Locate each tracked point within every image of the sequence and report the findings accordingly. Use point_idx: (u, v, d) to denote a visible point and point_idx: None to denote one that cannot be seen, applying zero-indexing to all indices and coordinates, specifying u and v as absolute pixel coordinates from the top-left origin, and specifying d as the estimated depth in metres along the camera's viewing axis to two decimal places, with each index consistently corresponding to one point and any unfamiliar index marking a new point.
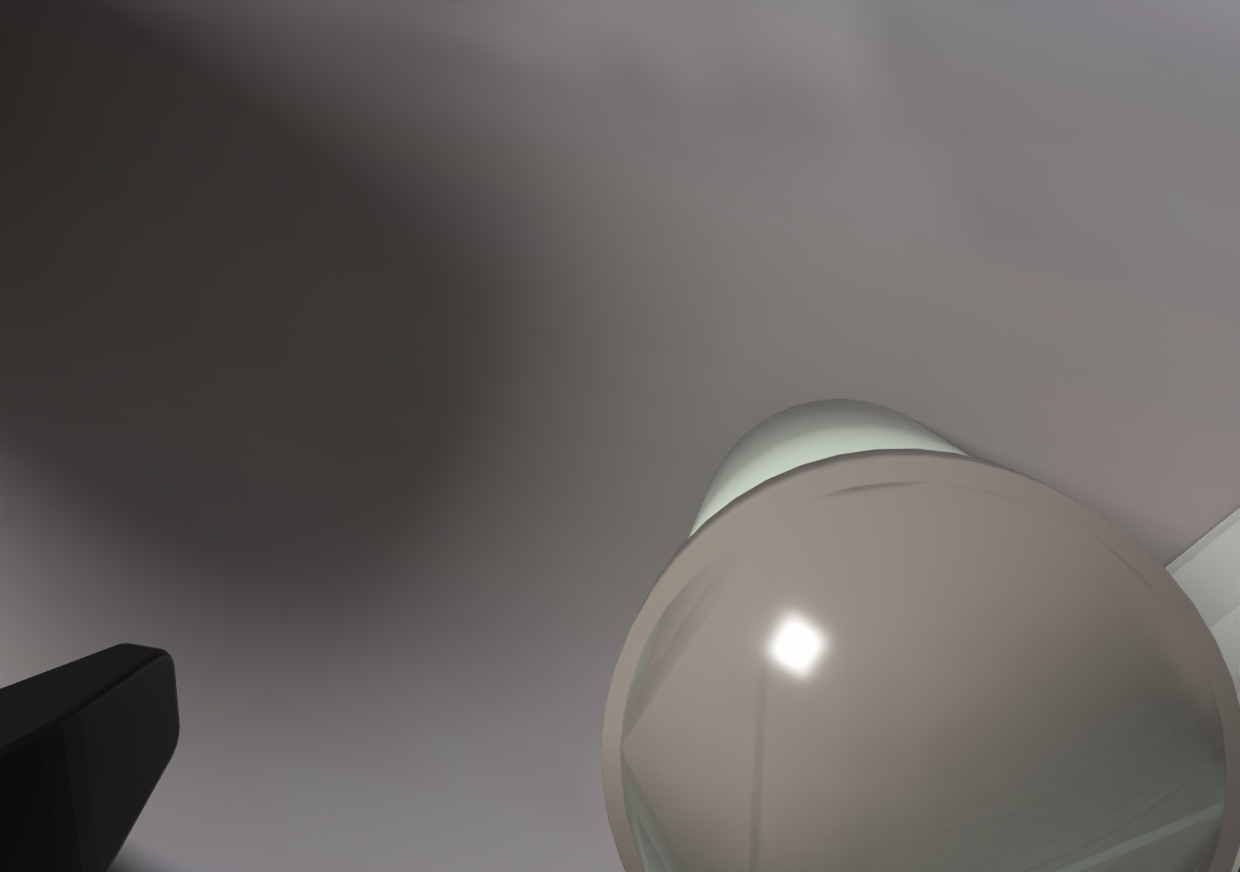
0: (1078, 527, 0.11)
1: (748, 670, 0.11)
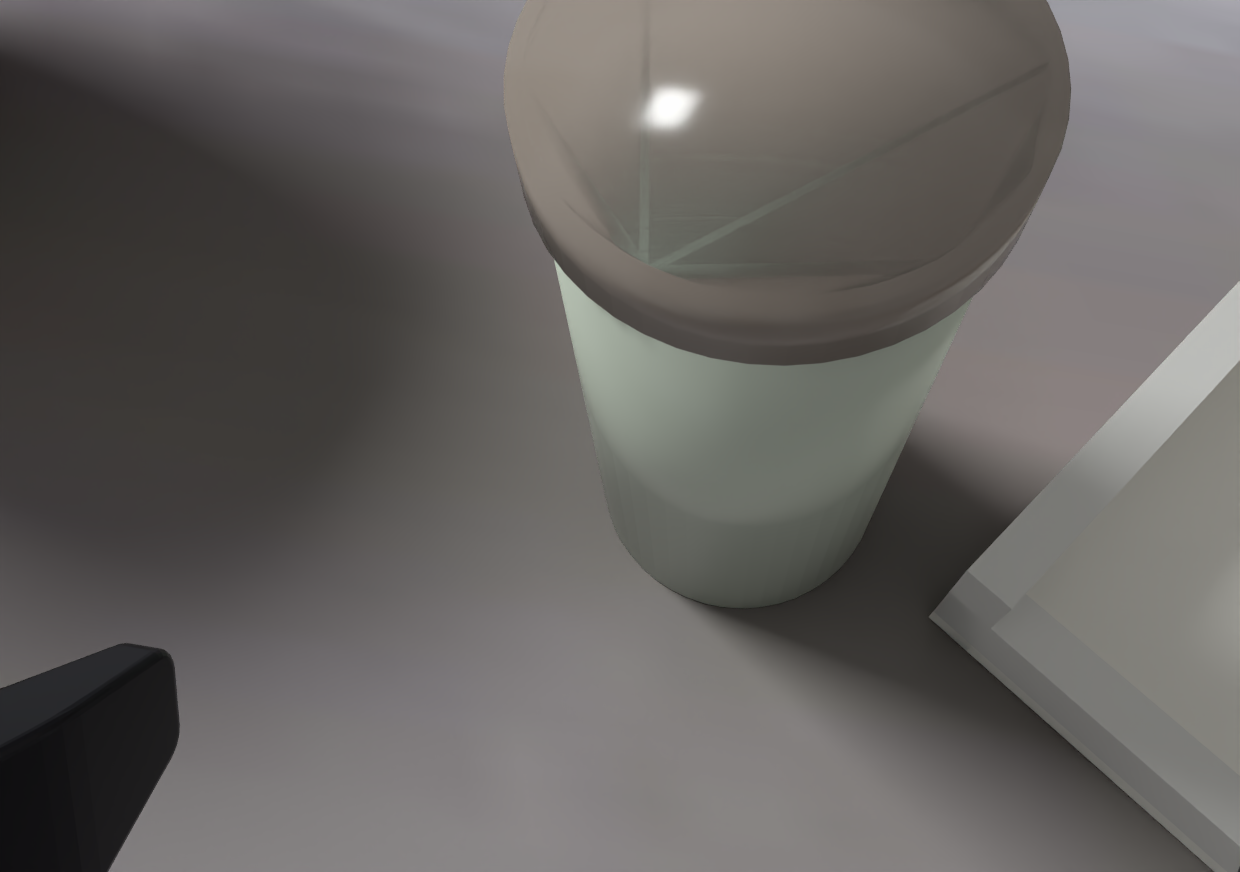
0: None
1: (634, 9, 0.13)
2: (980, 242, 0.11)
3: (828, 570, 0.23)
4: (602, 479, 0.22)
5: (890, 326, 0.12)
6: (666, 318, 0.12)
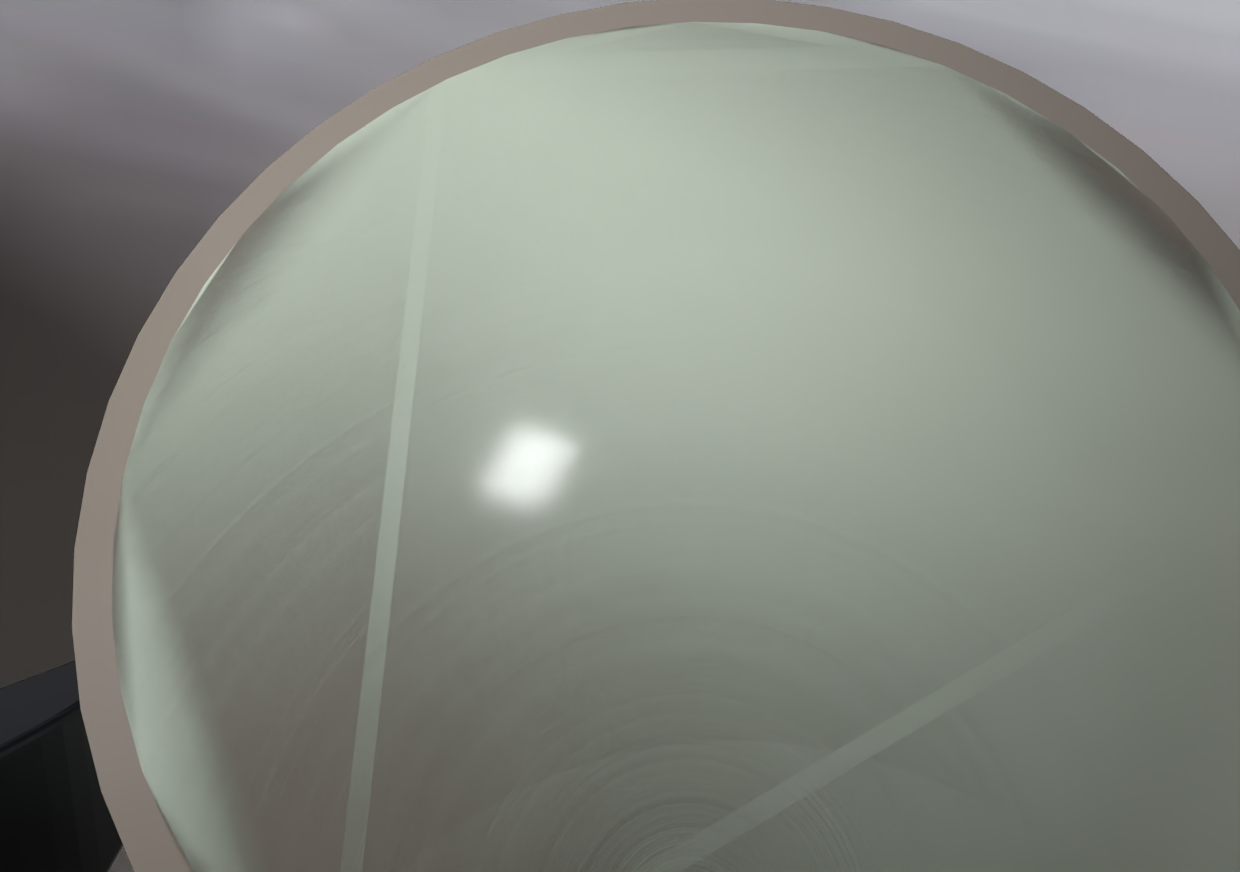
0: (931, 61, 0.07)
1: (386, 313, 0.06)
2: None
3: None
4: None
5: None
6: None
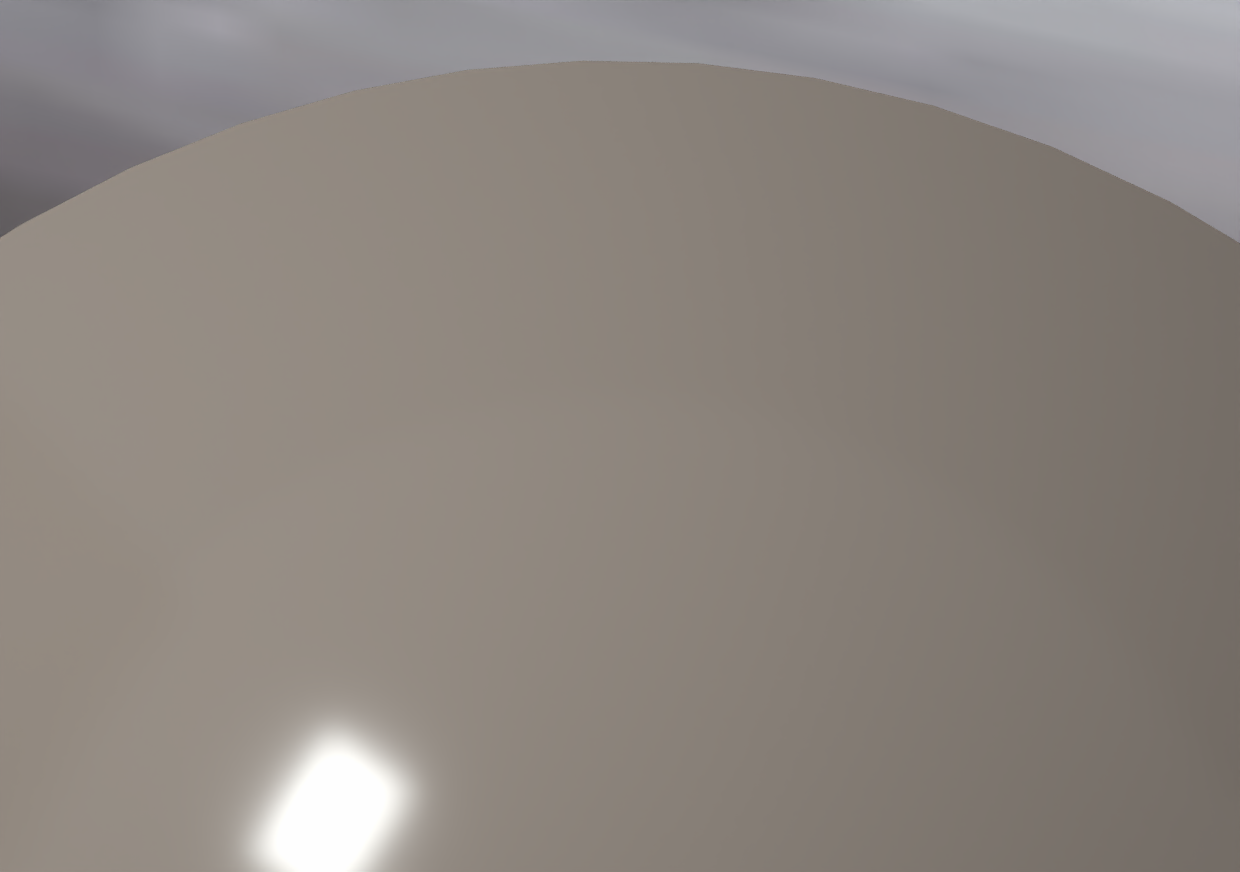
0: (1003, 181, 0.04)
1: None
2: None
3: None
4: None
5: None
6: None
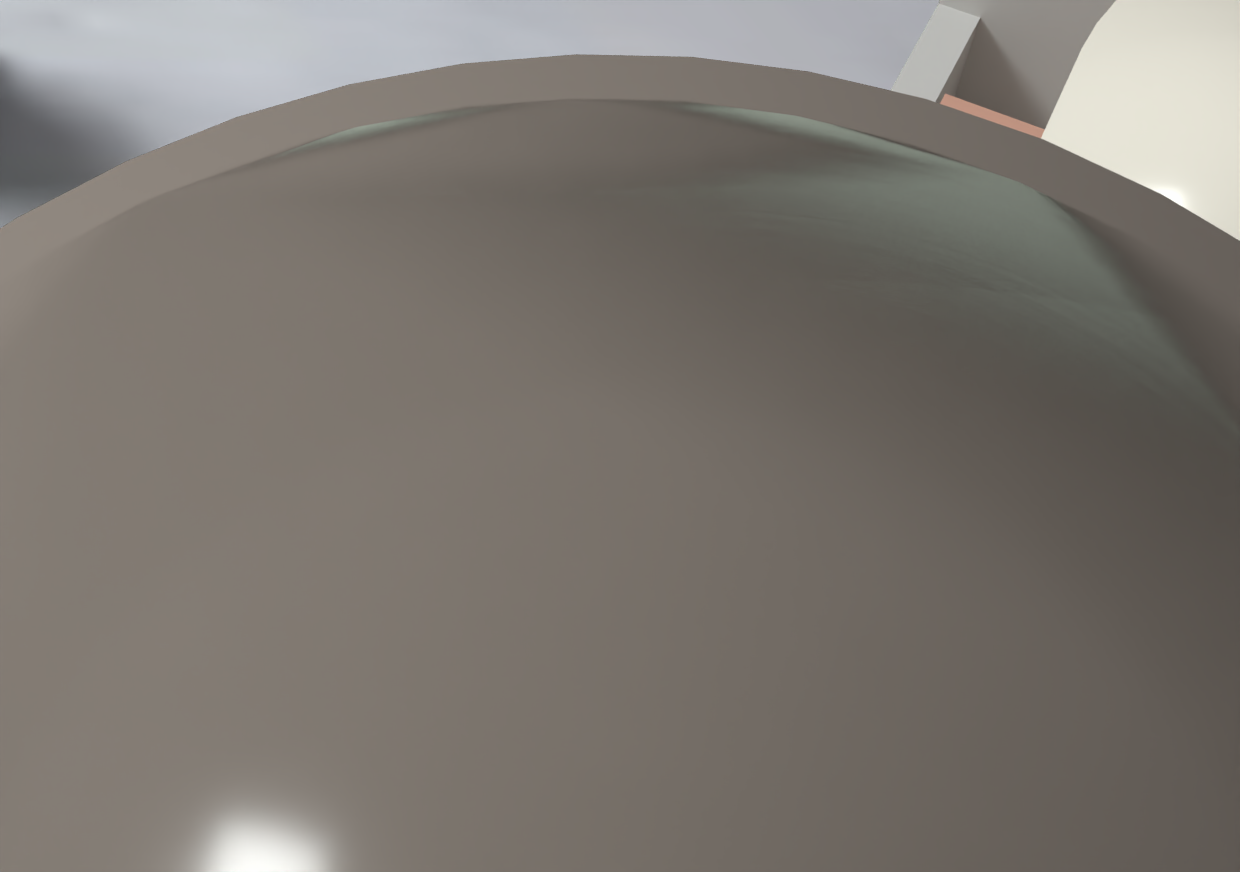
0: (996, 174, 0.04)
1: None
2: None
3: None
4: None
5: None
6: None
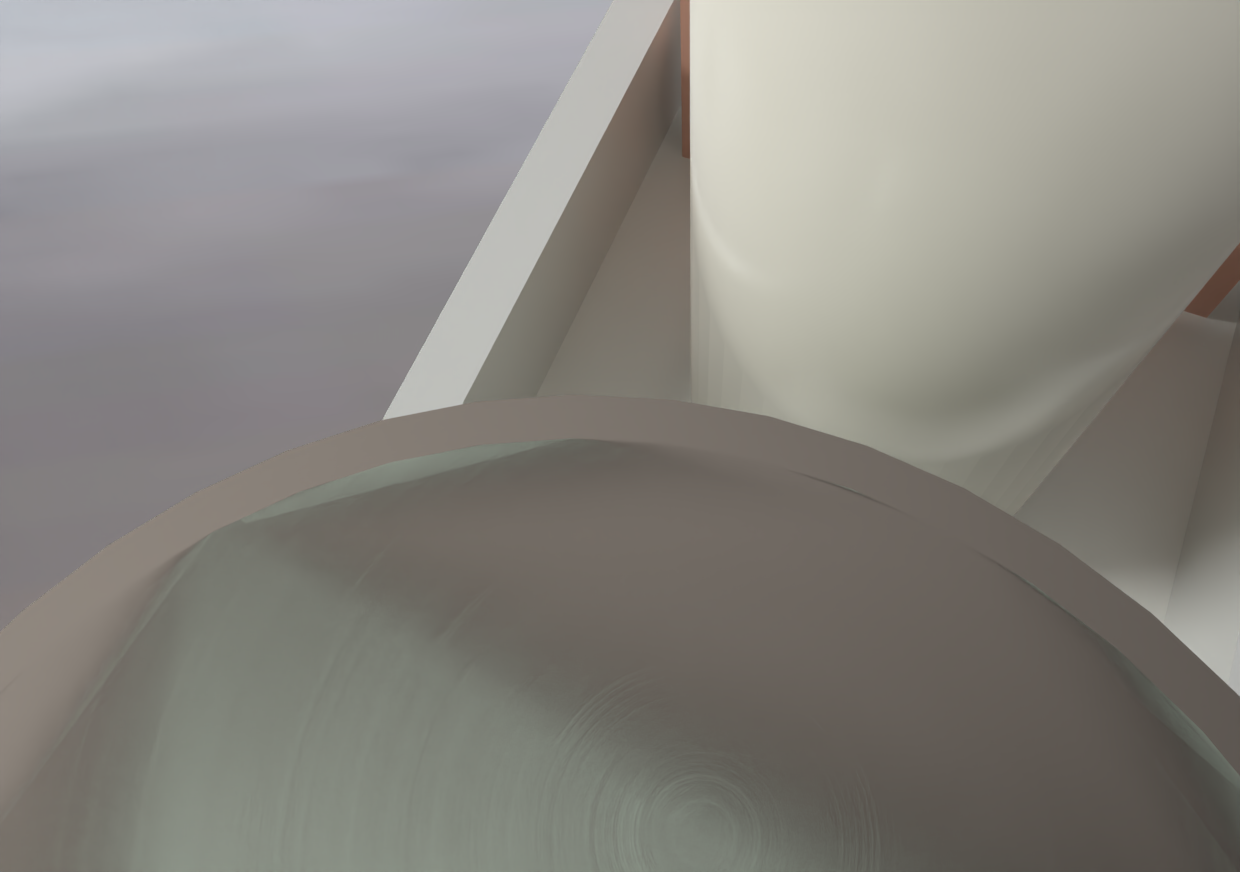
0: (923, 522, 0.04)
1: None
2: None
3: None
4: None
5: None
6: None
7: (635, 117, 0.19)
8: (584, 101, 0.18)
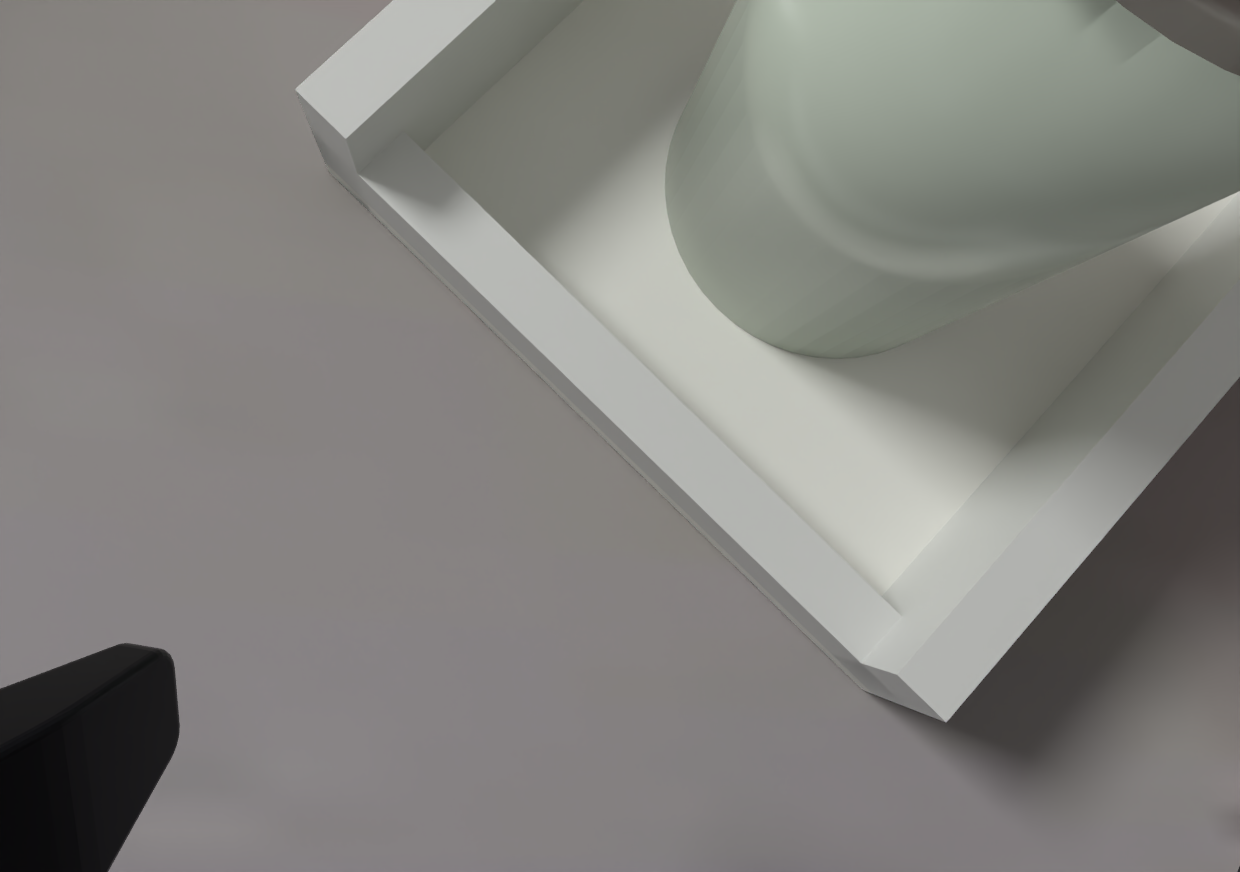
0: None
1: None
2: None
3: (892, 345, 0.18)
4: (690, 126, 0.17)
5: None
6: None
7: None
8: None
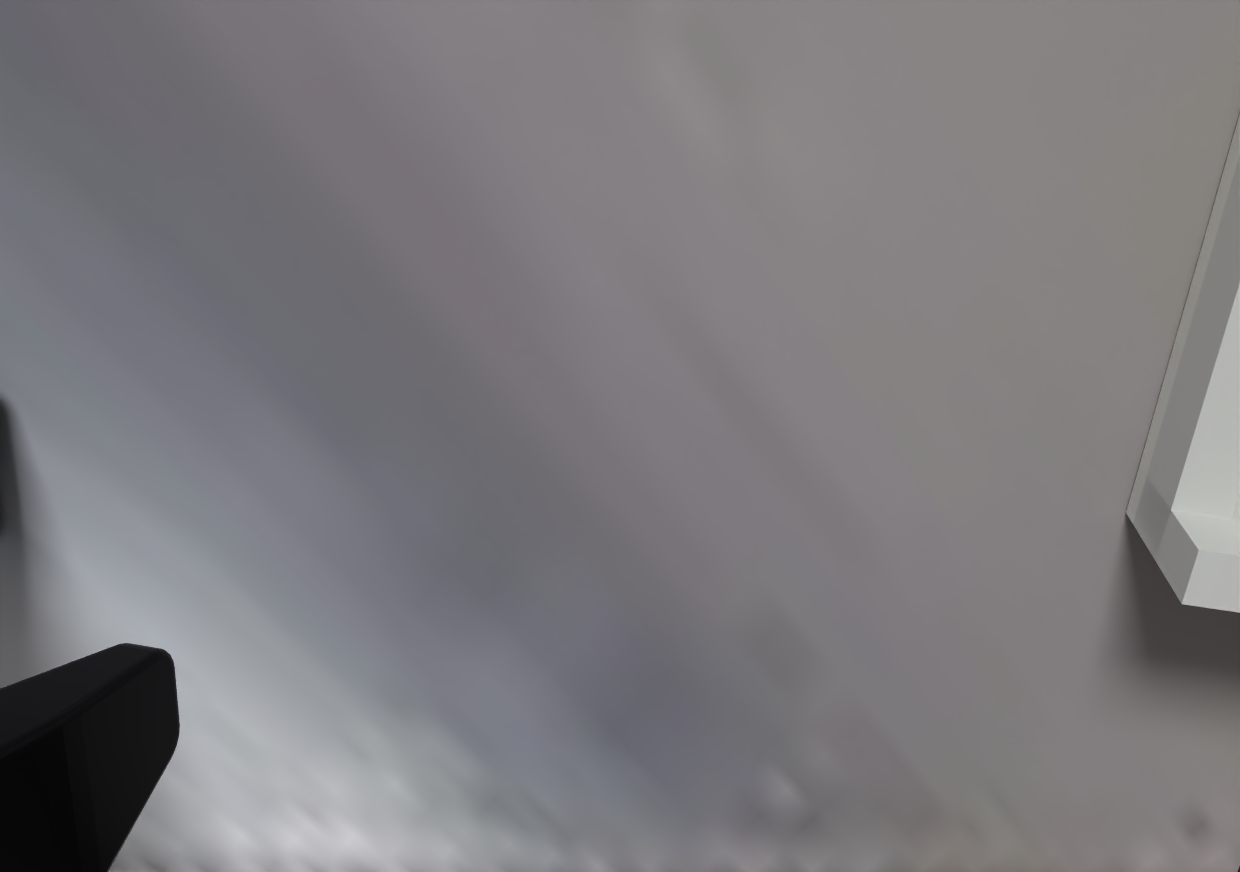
0: None
1: None
2: None
3: None
4: None
5: None
6: None
7: None
8: None
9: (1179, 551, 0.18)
